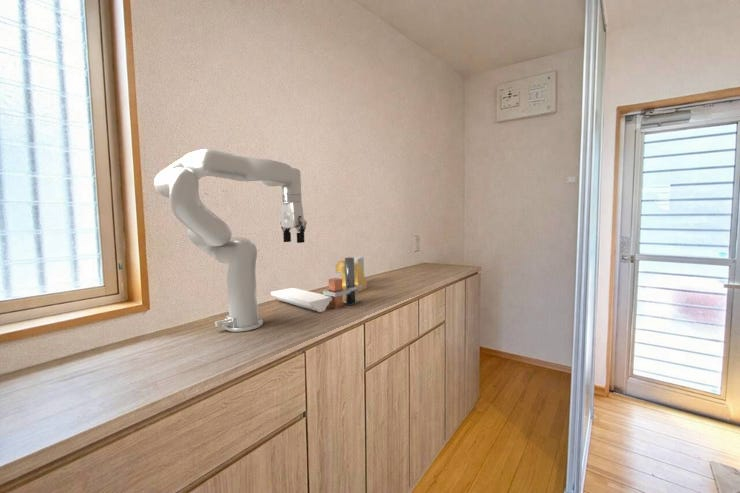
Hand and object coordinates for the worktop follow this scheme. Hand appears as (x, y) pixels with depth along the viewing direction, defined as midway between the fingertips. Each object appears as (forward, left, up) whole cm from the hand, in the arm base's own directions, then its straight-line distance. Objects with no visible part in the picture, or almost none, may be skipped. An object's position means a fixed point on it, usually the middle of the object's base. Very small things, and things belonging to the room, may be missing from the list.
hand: (293, 242), depth 137 cm
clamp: (+38, +9, -29) cm, 49 cm away
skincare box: (+50, +17, -28) cm, 60 cm away
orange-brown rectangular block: (+14, -9, -28) cm, 33 cm away
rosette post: (+18, -9, -28) cm, 35 cm away
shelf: (+6, +6, -29) cm, 30 cm away
